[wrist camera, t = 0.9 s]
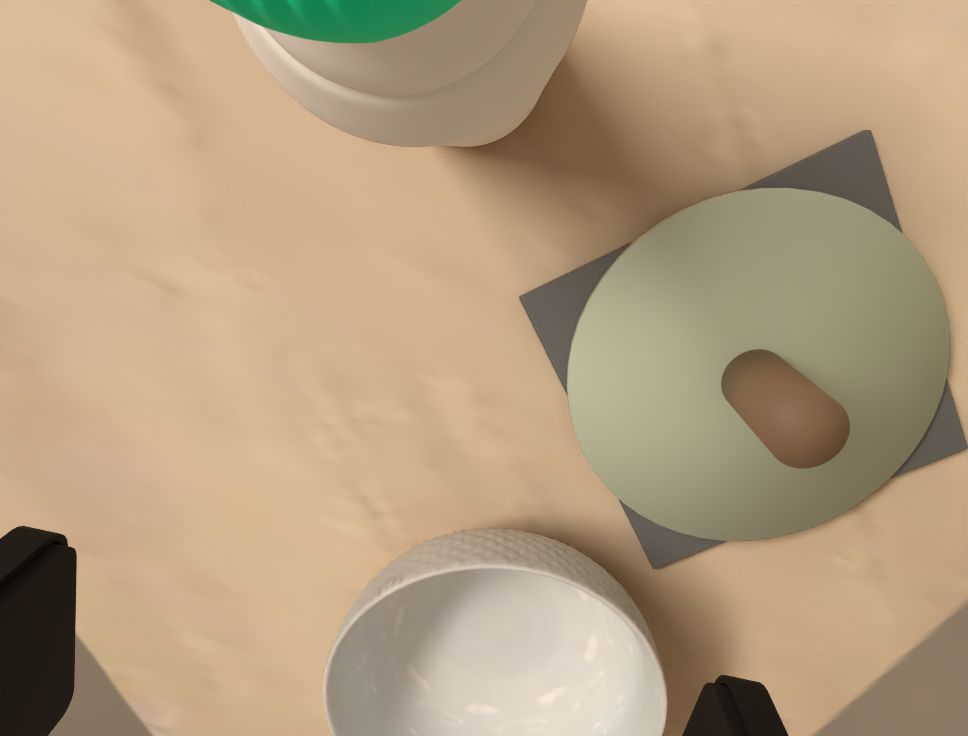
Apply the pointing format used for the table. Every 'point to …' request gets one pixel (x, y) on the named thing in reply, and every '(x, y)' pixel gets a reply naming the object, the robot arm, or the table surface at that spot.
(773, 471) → the lid
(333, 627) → the table surface
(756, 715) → the robot arm
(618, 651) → the cereal bowl
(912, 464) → the mat
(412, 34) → the water bottle
